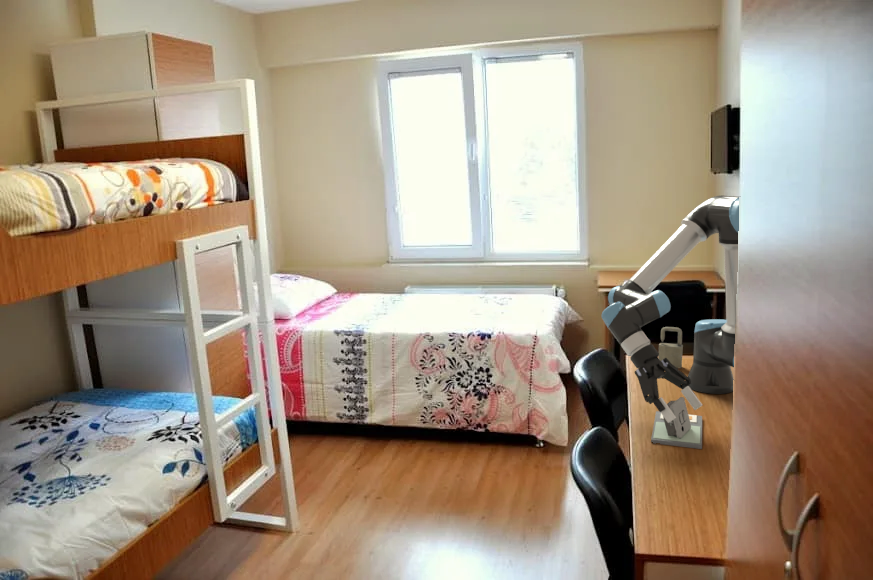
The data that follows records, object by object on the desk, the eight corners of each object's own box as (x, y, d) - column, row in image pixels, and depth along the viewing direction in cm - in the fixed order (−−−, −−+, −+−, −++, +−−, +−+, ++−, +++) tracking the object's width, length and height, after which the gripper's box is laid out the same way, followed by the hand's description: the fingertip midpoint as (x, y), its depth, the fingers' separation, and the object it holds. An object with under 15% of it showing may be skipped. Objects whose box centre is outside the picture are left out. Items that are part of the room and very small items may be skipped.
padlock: (658, 363, 253) (660, 325, 250) (681, 366, 250) (683, 326, 247) (657, 366, 250) (659, 327, 247) (681, 369, 246) (682, 329, 243)
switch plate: (656, 414, 204) (656, 409, 204) (701, 419, 200) (702, 414, 199) (650, 442, 184) (651, 437, 184) (701, 449, 180) (702, 444, 179)
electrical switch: (680, 439, 183) (678, 407, 182) (661, 437, 186) (659, 404, 185) (691, 428, 190) (690, 397, 189) (673, 426, 193) (671, 395, 192)
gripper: (656, 349, 204) (699, 409, 195) (606, 366, 188) (651, 432, 180) (672, 335, 199) (718, 396, 190) (622, 352, 183) (669, 419, 175)
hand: (685, 414), depth 185 cm, fingers open, 13 cm apart
